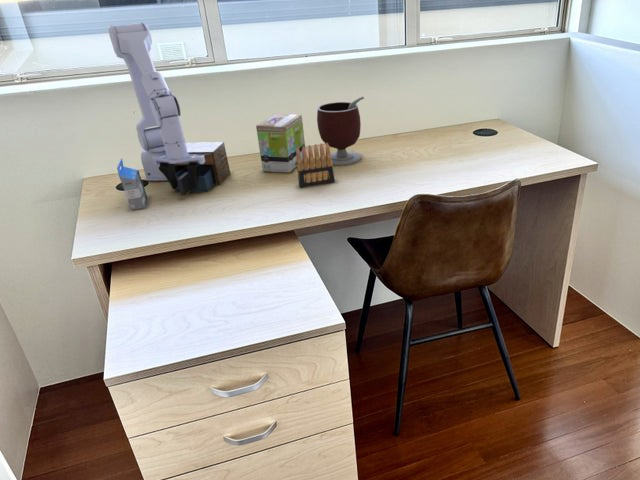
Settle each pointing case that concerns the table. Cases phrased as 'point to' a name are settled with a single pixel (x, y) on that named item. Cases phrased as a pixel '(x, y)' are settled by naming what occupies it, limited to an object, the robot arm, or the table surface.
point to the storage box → (204, 180)
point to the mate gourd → (340, 129)
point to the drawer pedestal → (209, 158)
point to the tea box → (280, 142)
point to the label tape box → (132, 186)
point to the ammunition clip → (315, 167)
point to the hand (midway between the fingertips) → (185, 187)
